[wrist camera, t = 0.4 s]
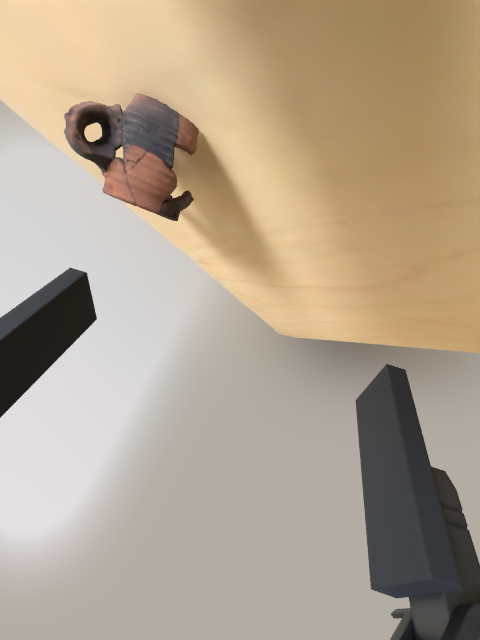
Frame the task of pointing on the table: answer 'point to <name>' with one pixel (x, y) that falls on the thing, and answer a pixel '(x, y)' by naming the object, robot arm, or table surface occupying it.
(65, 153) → the table surface
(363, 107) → the table surface
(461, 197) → the table surface
